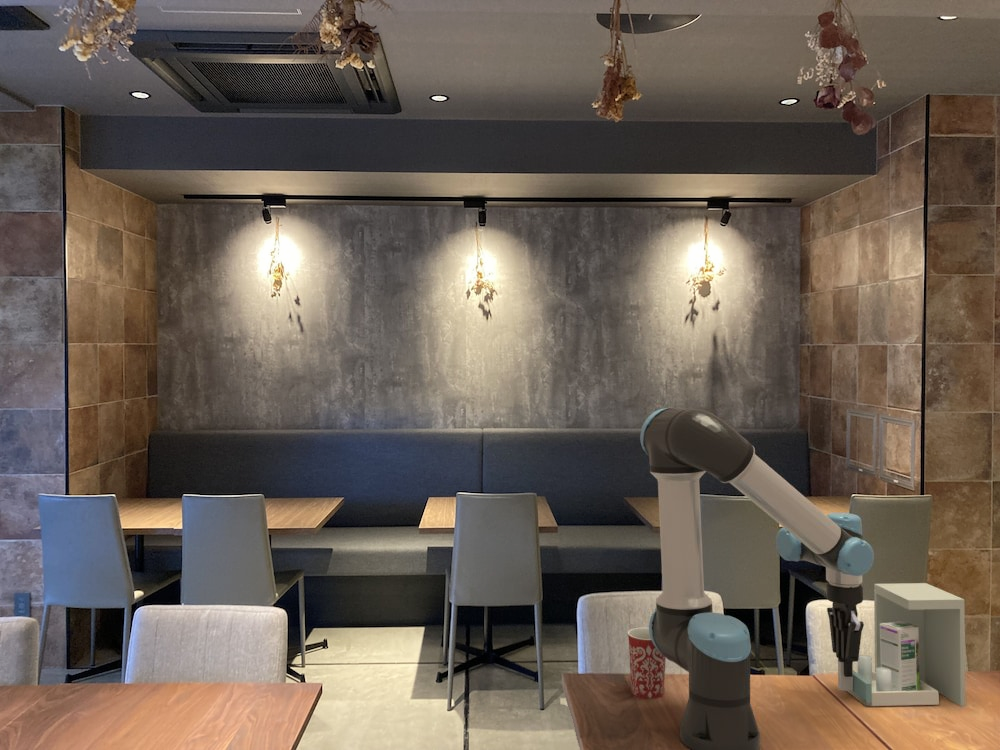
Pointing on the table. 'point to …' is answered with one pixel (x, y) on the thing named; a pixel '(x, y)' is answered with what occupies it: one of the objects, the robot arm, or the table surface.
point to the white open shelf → (928, 632)
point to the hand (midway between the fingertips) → (845, 689)
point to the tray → (905, 696)
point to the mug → (645, 665)
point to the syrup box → (900, 654)
